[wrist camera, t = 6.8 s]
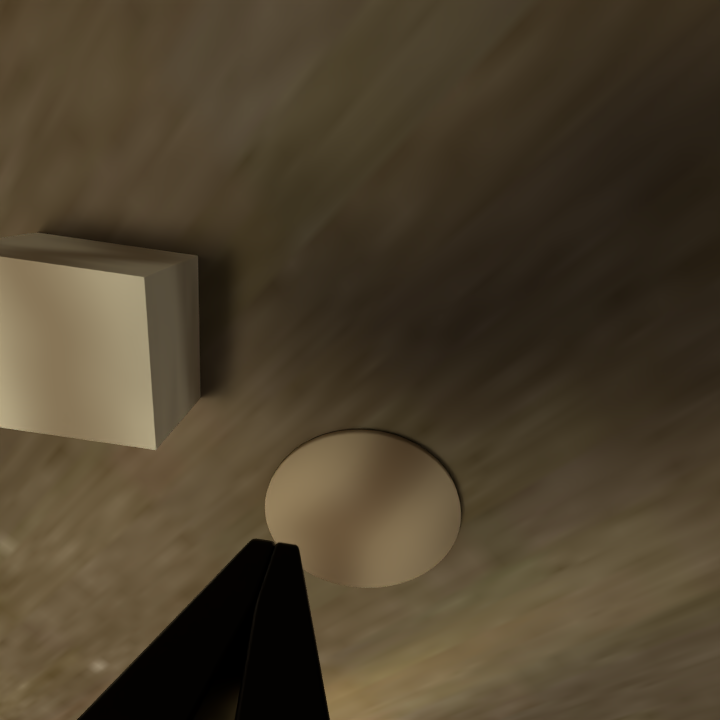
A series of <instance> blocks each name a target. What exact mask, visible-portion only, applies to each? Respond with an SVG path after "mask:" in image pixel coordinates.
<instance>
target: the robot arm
mask: <svg viewBox="0 0 720 720" xmlns="http://www.w3.org/2000/svg"><path fill="white" fill-rule="evenodd" d="M77 720H330V718H329V712H328V707H327V701H326V695H325V690H324V684H323V679H322V673H321V667H320V662H319V656H318V651H317V645H316V639H315V634H314V628H313V623H312V617H311V611H310V606H309V600H308V595H307V589H306V583H305V578H304V572H303V567H302V561H301V555H300V550H299V547H298V546H297V545H295V544H289V543H282V542H278V543H277V544H276V545H275V543H274V542H273V541H269V540H263V539H252V540H251V541H250V542H249V543H248V544H247V545H246V546H245V547H244V548H243V549H242V550H241V551H240V552H239V553H238V554H237V555H236V556H235V557H234V558H233V559H232V560H231V561H230V562H229V563H228V564H227V565H226V566H225V567H224V568H223V569H222V570H221V571H220V572H219V573H218V574H217V576H216V577H215V578H214V579H213V580H212V581H211V582H210V583H209V584H208V585H207V586H206V587H205V588H204V589H203V590H202V591H201V592H200V593H199V594H198V595H197V596H196V597H195V598H194V599H193V600H192V601H191V602H190V603H189V604H188V605H187V607H186V608H185V609H184V610H183V611H182V612H181V613H180V614H179V615H178V616H177V617H176V618H175V619H174V620H173V621H172V622H171V623H170V624H169V625H168V626H167V627H166V628H165V629H164V630H163V631H162V632H161V633H160V634H159V635H158V636H157V637H156V639H155V640H154V641H153V642H152V643H151V644H150V645H149V646H148V647H147V648H146V649H145V650H144V651H143V652H142V653H141V654H140V655H139V656H138V657H137V658H136V659H135V660H134V661H133V662H132V663H131V664H130V665H129V666H128V667H127V668H126V670H125V671H124V672H123V673H122V674H121V675H120V676H119V677H118V678H117V679H116V680H115V681H114V682H113V683H112V684H111V685H110V686H109V687H108V688H107V689H106V690H105V691H104V692H103V693H102V694H101V695H100V696H99V697H98V698H97V699H96V701H95V702H94V703H93V704H92V705H91V706H90V707H89V708H88V709H87V710H86V711H85V712H84V713H83V714H82V715H81V716H80V717H79V718H78V719H77Z"/></svg>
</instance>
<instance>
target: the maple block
mask: <svg viewBox="0 0 720 720" xmlns="http://www.w3.org/2000/svg"><path fill="white" fill-rule="evenodd" d="M200 398H201V391H200V338H199V285H198V256H197V255H190V254H183V253H176V252H169V251H162V250H155V249H148V248H141V247H135V246H128V245H121V244H114V243H107V242H100V241H93V240H86V239H79V238H72V237H65V236H58V235H51V234H44V233H31V234H24V235H18V236H11V237H4V238H0V427H1V428H8V429H15V430H22V431H29V432H36V433H42V434H49V435H56V436H63V437H70V438H77V439H84V440H91V441H98V442H105V443H112V444H119V445H126V446H132V447H139V448H146V449H153V450H156V449H157V448H158V447H159V446H160V445H161V443H162V442H163V441H164V440H165V439H166V438H167V436H168V435H169V434H170V433H171V432H172V431H173V429H174V428H175V427H176V426H177V425H178V424H179V422H180V421H181V420H182V419H183V418H184V417H185V415H186V414H187V413H188V412H189V411H190V410H191V408H192V407H193V406H194V405H195V404H196V402H197V401H198V400H199V399H200Z"/></svg>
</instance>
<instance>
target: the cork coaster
mask: <svg viewBox="0 0 720 720" xmlns="http://www.w3.org/2000/svg"><path fill="white" fill-rule="evenodd" d="M265 515H266V520H267V524H268V527H269V530H270V533H271V535H272V537H273V539H274V541H275V542H276V544H277V543H278V542H282V543H289V544H295V545H297V546H298V547H299V550H300V555H301V561H302V567H303V570H305V571H307V572H309V573H310V574H312V575H314V576H316V577H319V578H321V579H323V580H326V581H329V582H332V583H336V584H340V585H345V586H350V587H359V588H375V587H386V586H391V585H396V584H400V583H403V582H407V581H409V580H412V579H414V578H417V577H418V576H420V575H422V574H424V573H426V572H427V571H429V570H430V569H432V568H433V567H434V566H436V565H437V564H438V563H439V562H440V561H441V560H442V559H443V558H444V557H445V556H446V554H447V553H448V552H449V551H450V549H451V547H452V546H453V544H454V543H455V540H456V538H457V535H458V533H459V528H460V524H461V508H460V501H459V497H458V493H457V490H456V487H455V484H454V482H453V480H452V478H451V476H450V475H449V473H448V472H447V470H446V469H445V467H444V466H443V465H442V464H441V463H440V462H439V461H438V460H437V459H436V458H435V457H434V456H433V455H432V454H430V453H429V452H428V451H427V450H425V449H424V448H422V447H420V446H419V445H417V444H415V443H413V442H411V441H409V440H407V439H405V438H402V437H399V436H396V435H394V434H390V433H386V432H381V431H375V430H365V429H359V430H343V431H336V432H332V433H328V434H324V435H321V436H319V437H316V438H314V439H311V440H309V441H308V442H306V443H304V444H302V445H300V446H299V447H298V448H296V449H295V450H293V451H292V452H291V453H290V454H289V455H288V456H287V457H286V458H285V459H284V460H283V461H282V462H281V464H280V465H279V466H278V468H277V469H276V471H275V473H274V475H273V477H272V479H271V482H270V484H269V487H268V490H267V494H266V500H265Z"/></svg>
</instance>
